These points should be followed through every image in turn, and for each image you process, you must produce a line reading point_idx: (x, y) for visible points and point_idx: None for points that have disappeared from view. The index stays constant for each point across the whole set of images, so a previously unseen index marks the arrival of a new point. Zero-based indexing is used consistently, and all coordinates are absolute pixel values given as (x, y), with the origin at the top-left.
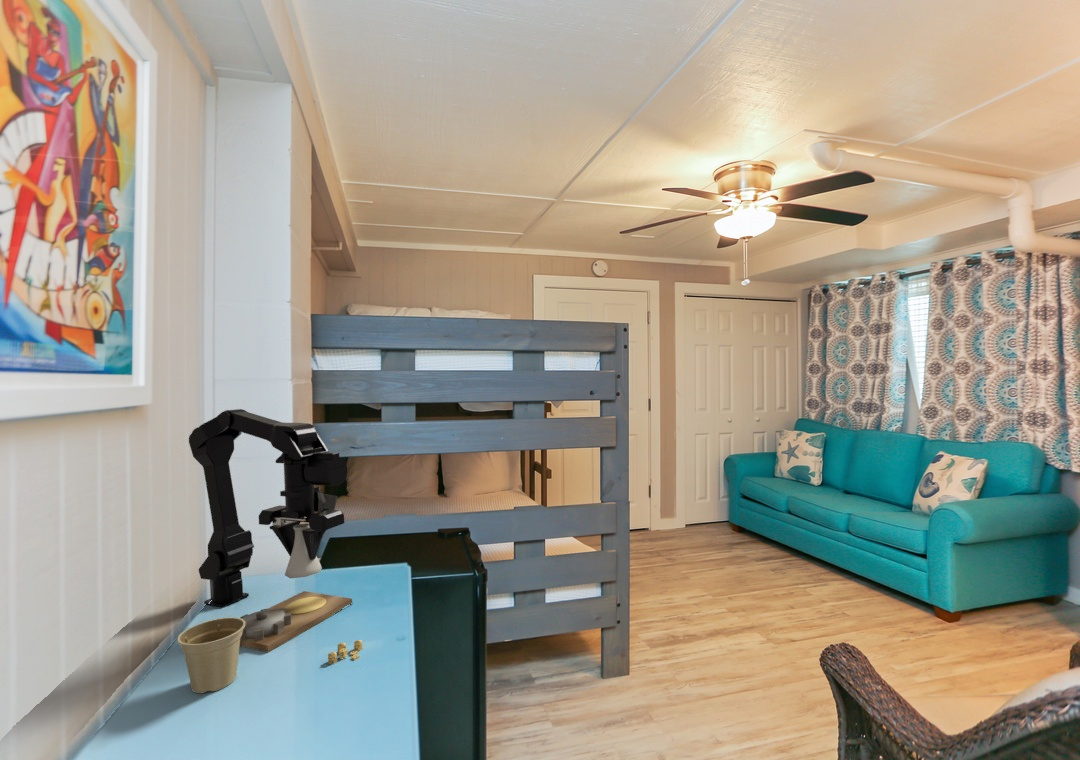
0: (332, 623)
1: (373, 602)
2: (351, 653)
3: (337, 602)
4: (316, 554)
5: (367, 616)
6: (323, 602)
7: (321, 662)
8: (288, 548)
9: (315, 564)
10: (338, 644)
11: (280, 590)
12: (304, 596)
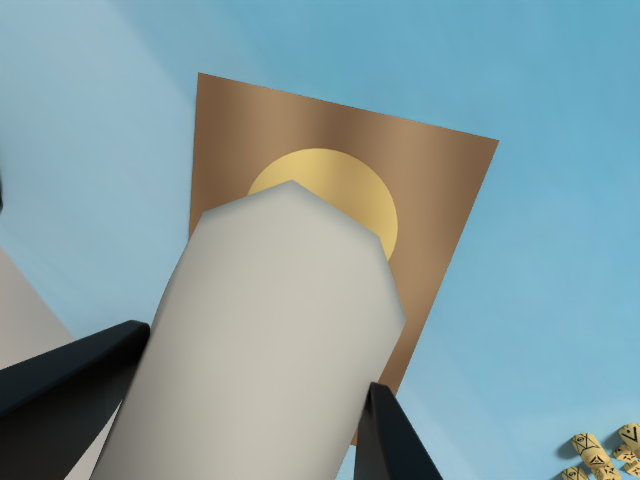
0: (476, 298)
1: (594, 108)
2: (622, 459)
3: (442, 187)
4: (404, 415)
5: (603, 245)
6: (384, 206)
7: (542, 474)
8: (76, 460)
9: (387, 355)
10: (586, 460)
11: (46, 15)
12: (246, 135)
